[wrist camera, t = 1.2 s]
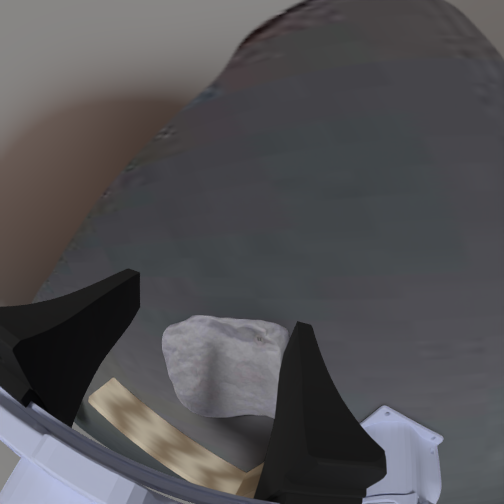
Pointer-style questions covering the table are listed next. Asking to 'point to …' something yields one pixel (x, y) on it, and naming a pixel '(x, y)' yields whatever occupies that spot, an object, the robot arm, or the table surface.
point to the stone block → (225, 364)
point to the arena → (171, 443)
